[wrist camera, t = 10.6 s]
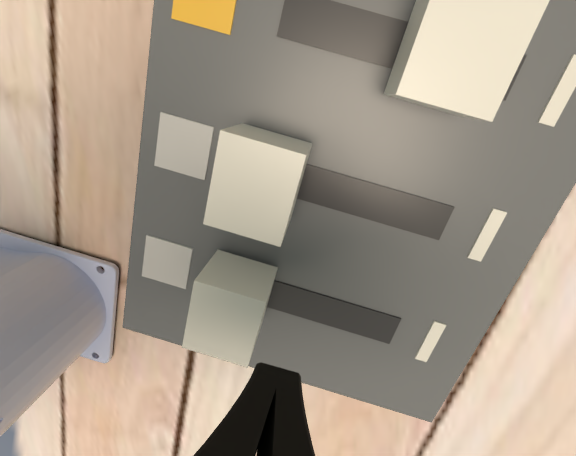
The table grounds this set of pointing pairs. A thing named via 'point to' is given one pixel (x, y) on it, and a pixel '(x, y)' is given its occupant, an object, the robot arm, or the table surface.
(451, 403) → the table surface
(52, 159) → the table surface
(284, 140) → the middle switch
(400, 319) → the switch panel
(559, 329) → the table surface
